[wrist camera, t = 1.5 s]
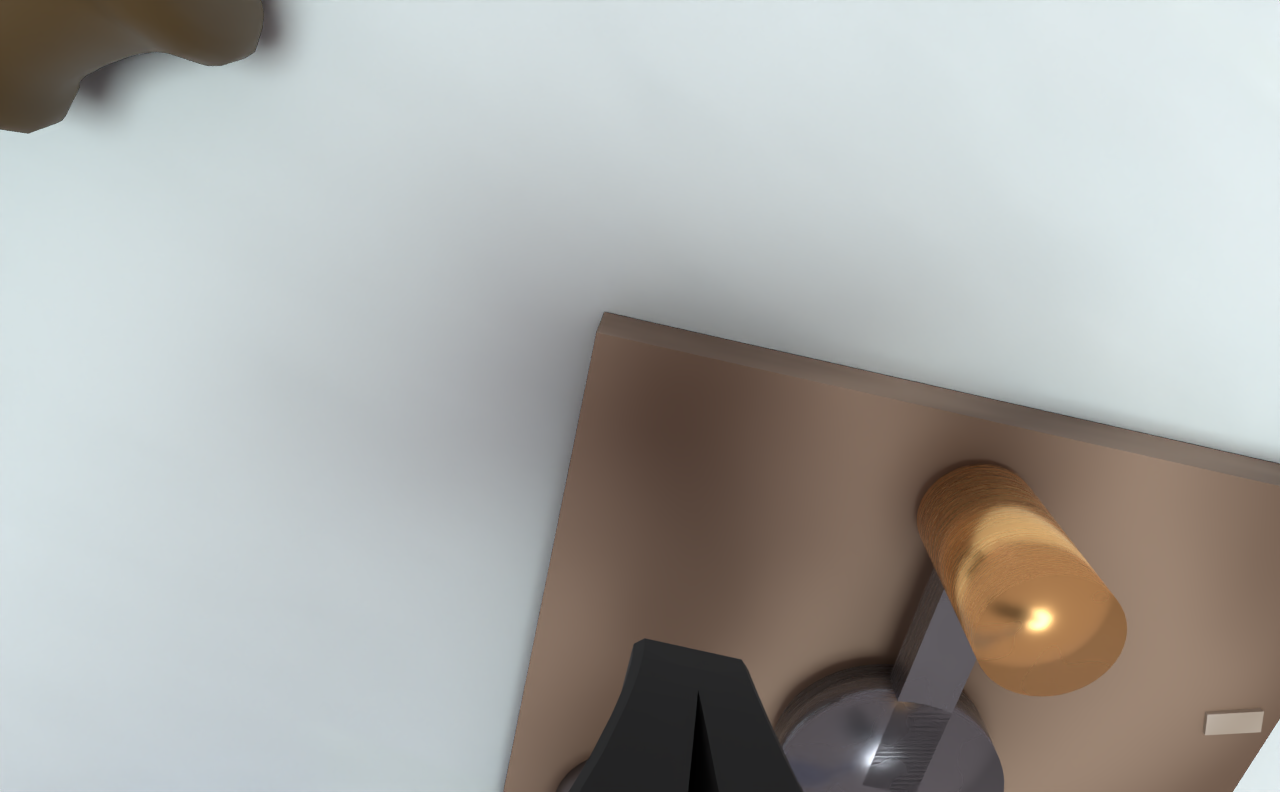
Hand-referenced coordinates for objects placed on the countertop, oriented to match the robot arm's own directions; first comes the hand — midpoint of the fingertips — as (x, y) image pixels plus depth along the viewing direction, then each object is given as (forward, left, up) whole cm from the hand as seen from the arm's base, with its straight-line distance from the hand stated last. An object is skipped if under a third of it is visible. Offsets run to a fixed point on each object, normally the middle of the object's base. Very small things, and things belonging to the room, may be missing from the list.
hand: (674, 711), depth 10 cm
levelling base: (+6, -7, -9) cm, 13 cm away
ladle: (+6, -4, -8) cm, 10 cm away
